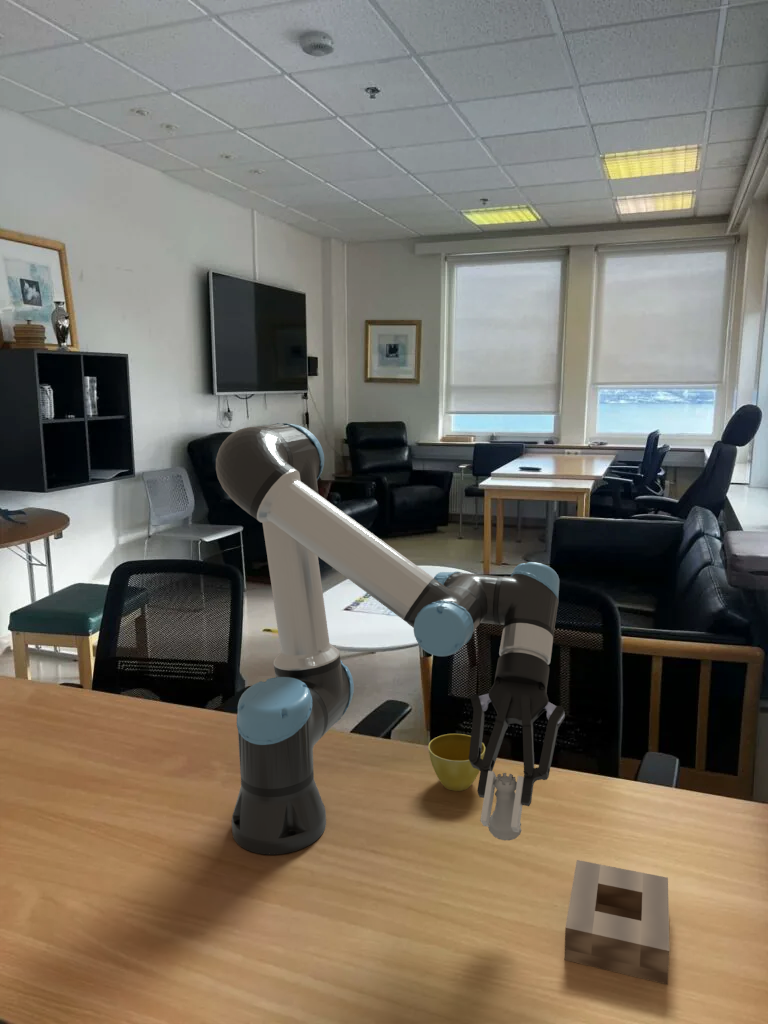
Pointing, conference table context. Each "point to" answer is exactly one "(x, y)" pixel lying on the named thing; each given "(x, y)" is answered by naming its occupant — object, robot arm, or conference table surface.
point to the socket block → (619, 921)
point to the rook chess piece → (504, 808)
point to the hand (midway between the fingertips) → (499, 826)
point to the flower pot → (453, 761)
